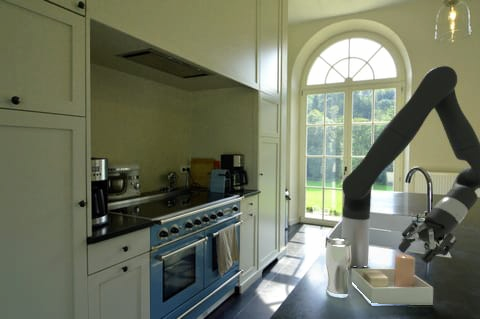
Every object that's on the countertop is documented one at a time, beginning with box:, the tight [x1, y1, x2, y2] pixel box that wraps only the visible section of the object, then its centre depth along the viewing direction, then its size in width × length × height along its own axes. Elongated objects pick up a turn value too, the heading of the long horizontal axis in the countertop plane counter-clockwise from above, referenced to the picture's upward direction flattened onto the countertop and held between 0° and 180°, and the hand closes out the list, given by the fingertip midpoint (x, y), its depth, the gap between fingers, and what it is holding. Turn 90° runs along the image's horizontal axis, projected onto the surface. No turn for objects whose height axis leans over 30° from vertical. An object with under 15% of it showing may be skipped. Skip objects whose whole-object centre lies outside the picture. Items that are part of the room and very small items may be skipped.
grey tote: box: [351, 267, 434, 305], centre depth 86 cm, size 17×13×5 cm
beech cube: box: [362, 271, 388, 288], centre depth 86 cm, size 5×5×5 cm
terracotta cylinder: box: [394, 253, 416, 287], centre depth 86 cm, size 5×5×10 cm
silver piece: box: [325, 238, 351, 294], centre depth 86 cm, size 7×7×15 cm
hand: (411, 255), depth 86 cm, fingers open, 8 cm apart
